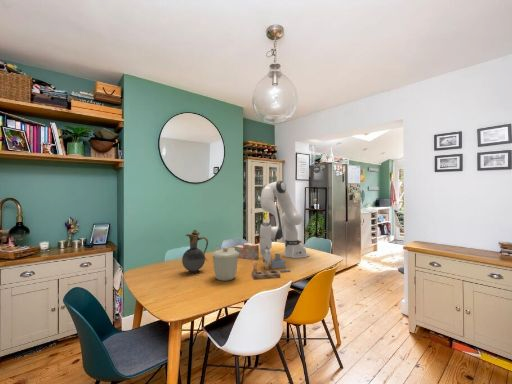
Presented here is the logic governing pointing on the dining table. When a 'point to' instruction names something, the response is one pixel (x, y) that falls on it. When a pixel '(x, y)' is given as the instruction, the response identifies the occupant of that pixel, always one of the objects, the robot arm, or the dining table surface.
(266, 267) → the pin
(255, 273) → the socket board
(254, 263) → the pin
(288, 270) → the card
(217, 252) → the canister
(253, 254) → the floral patterned box
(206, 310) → the dining table surface
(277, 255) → the housing
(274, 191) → the robot arm
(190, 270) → the pitcher
